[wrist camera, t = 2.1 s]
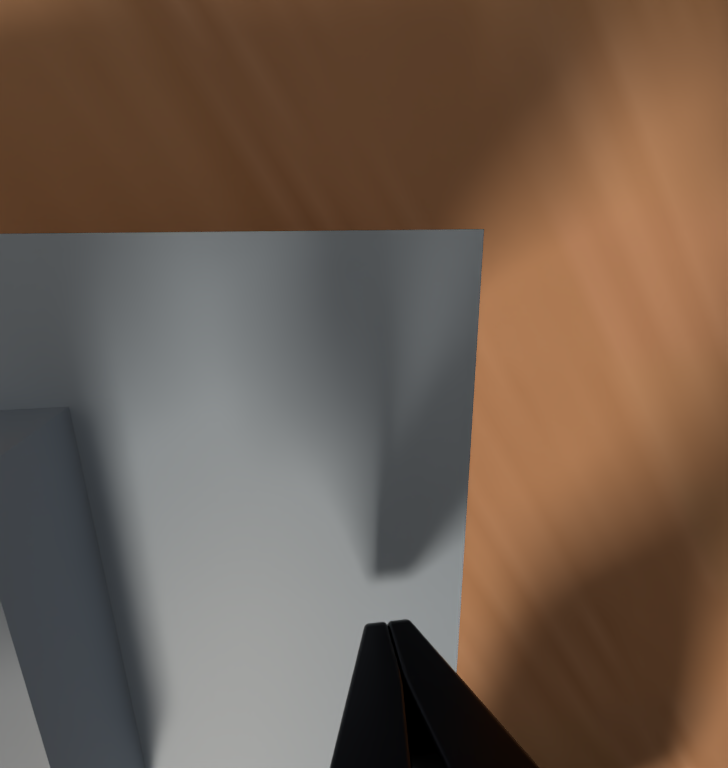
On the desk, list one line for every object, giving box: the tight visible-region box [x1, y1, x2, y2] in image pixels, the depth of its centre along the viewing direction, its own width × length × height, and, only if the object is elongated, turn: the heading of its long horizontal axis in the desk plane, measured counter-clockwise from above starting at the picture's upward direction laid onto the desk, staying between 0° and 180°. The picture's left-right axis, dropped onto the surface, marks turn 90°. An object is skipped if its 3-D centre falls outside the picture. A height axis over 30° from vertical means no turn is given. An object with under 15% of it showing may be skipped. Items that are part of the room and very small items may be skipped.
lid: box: [0, 229, 484, 768], centre depth 8 cm, size 14×15×3 cm
